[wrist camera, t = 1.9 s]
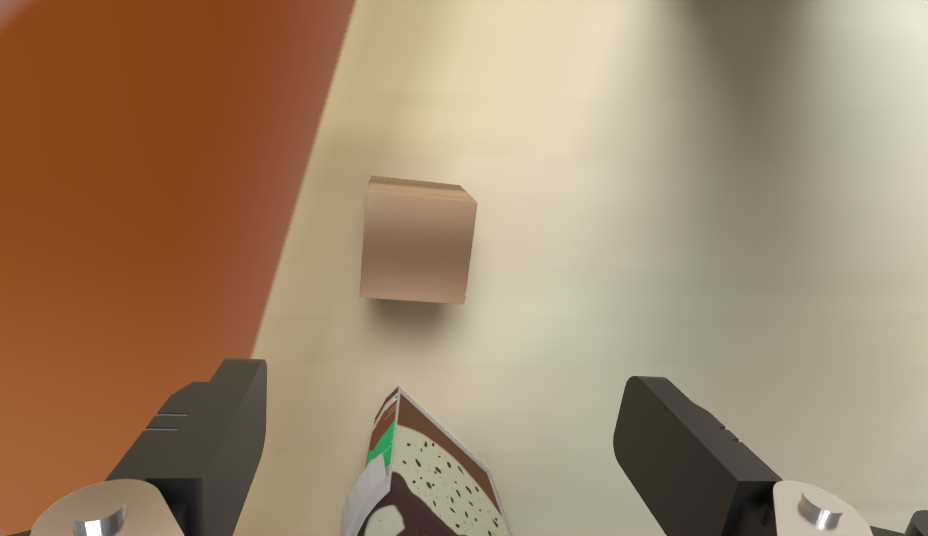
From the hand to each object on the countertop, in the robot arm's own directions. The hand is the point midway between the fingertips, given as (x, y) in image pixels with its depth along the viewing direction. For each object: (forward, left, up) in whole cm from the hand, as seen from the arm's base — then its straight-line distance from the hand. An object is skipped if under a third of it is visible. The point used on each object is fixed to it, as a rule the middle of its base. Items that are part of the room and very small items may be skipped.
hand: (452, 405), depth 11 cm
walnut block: (0, 0, -19) cm, 19 cm away
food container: (+16, +2, -19) cm, 25 cm away
